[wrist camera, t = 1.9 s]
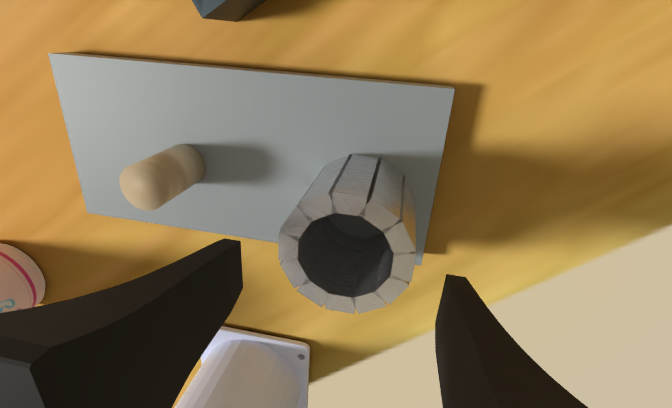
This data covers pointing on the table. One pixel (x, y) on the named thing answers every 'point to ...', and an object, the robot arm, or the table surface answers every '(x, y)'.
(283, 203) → the board
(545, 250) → the table surface
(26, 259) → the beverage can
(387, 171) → the gray hollow cylinder
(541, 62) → the table surface
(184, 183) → the post
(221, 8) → the watch
